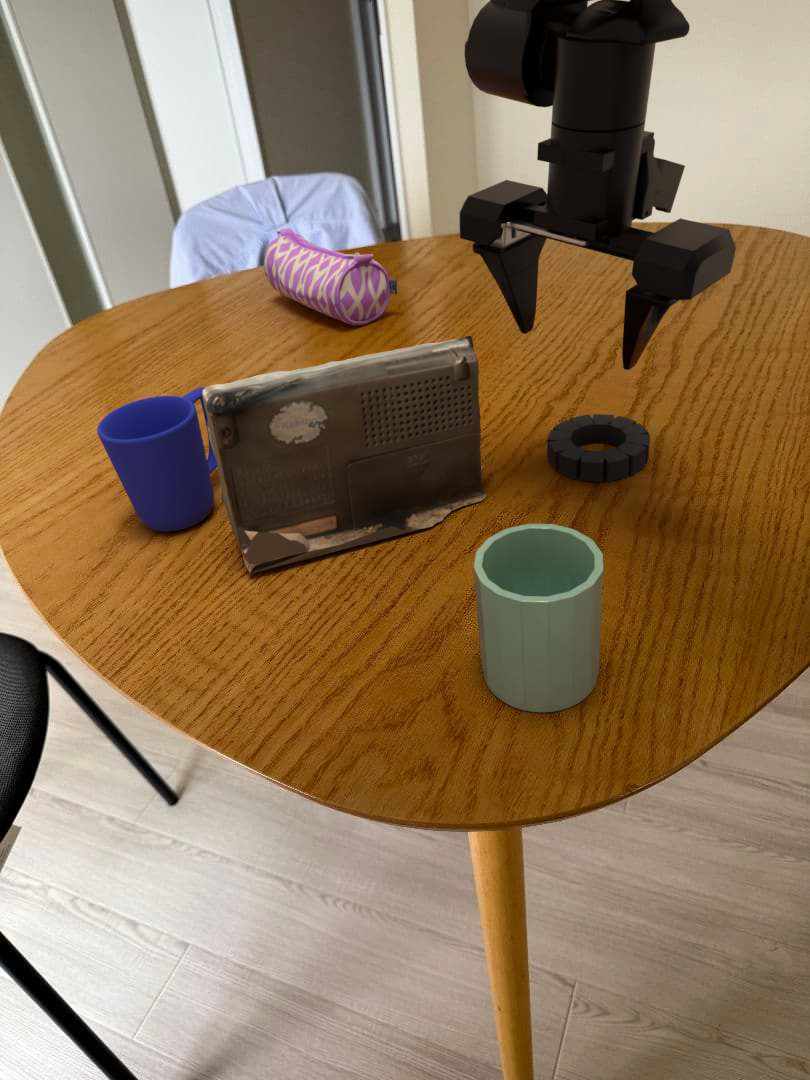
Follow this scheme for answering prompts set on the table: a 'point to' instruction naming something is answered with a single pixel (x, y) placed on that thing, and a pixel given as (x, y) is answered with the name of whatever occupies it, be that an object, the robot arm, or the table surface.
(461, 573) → the table surface
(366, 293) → the pencil case
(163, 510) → the mug
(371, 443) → the radio
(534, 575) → the cup
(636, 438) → the ring
